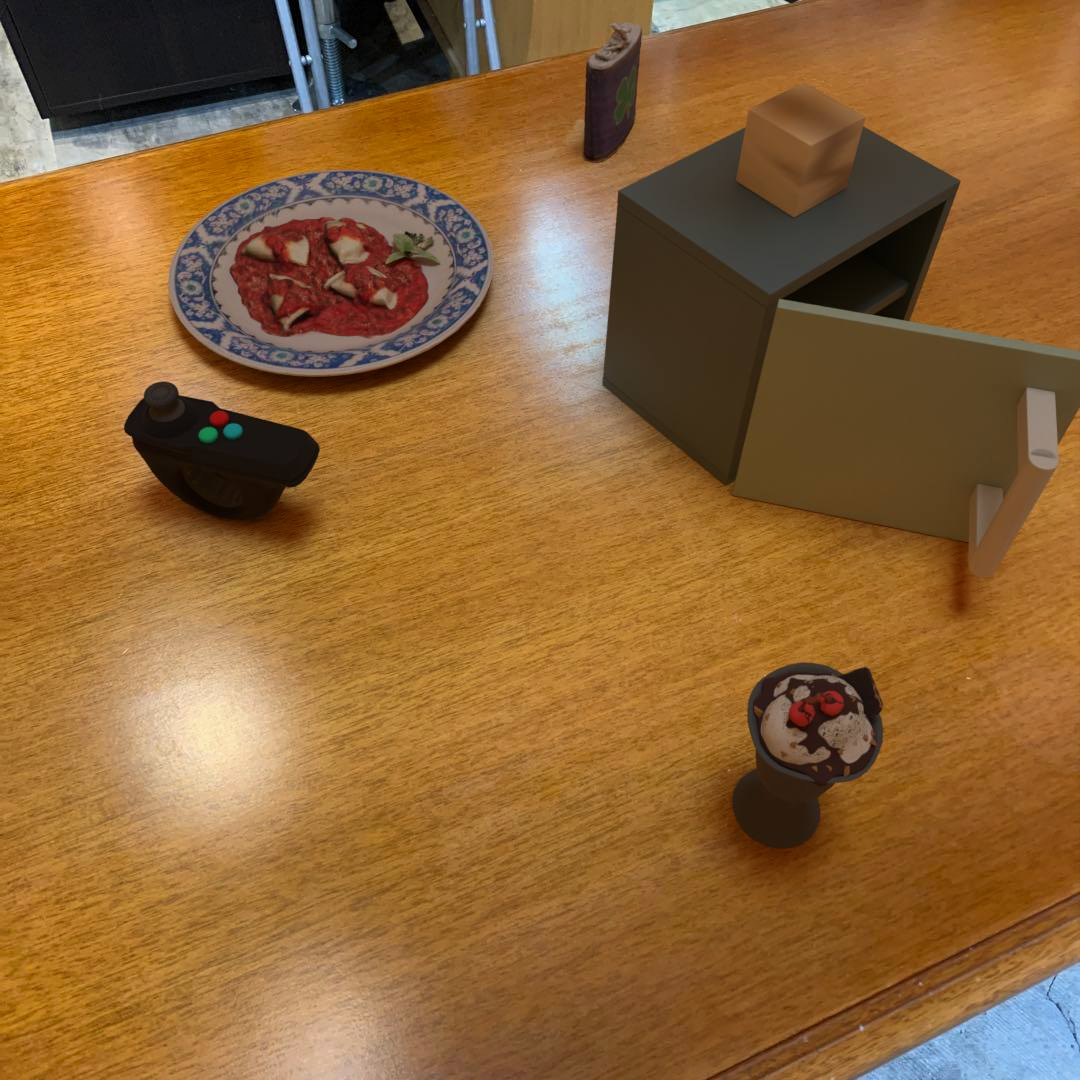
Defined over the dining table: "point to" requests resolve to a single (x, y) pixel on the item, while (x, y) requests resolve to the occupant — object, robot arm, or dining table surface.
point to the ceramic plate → (330, 273)
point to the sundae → (805, 747)
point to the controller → (218, 453)
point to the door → (907, 425)
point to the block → (799, 148)
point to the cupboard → (752, 280)
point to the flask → (611, 92)
